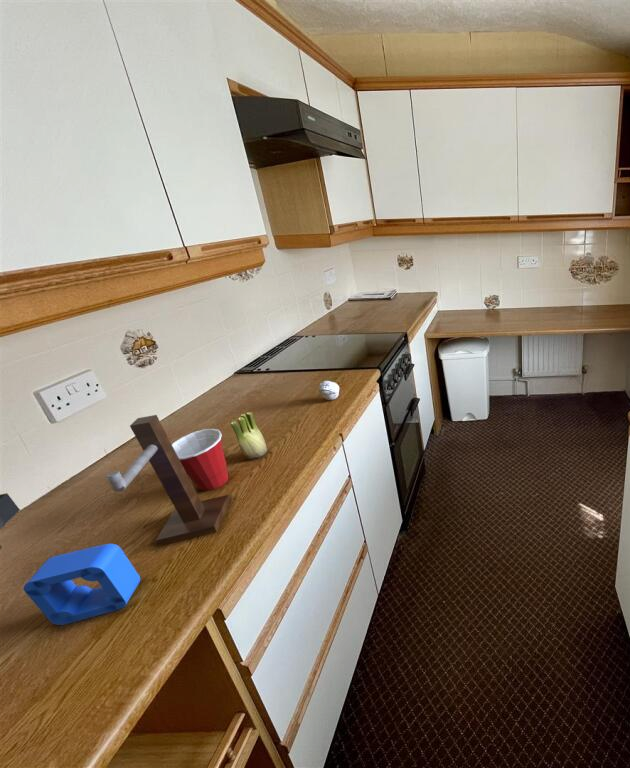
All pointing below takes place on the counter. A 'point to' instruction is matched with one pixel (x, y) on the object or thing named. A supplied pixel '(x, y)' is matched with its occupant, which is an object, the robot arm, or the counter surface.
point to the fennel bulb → (249, 437)
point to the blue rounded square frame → (80, 602)
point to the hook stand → (171, 485)
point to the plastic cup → (203, 458)
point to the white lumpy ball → (329, 390)
